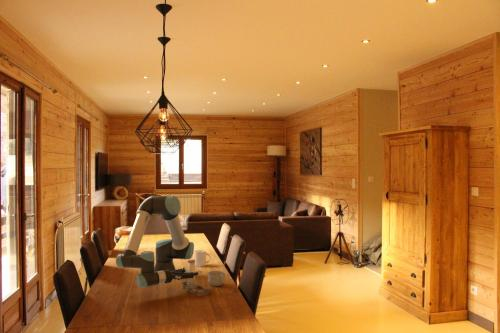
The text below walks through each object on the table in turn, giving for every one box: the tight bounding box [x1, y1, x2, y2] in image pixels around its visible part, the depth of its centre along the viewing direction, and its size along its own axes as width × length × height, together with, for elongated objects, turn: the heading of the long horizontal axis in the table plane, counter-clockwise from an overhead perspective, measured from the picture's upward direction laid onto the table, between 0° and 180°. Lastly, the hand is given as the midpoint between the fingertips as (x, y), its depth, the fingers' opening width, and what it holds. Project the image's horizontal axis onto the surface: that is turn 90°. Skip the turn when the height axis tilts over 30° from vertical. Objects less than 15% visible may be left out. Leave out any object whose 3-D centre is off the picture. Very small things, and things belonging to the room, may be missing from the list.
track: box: [181, 280, 212, 297], centre depth 249 cm, size 20×8×4 cm, turn 36°
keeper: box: [186, 259, 199, 288], centre depth 254 cm, size 6×5×16 cm
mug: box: [193, 249, 212, 268], centre depth 315 cm, size 9×12×11 cm
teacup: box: [207, 270, 226, 287], centre depth 261 cm, size 14×11×8 cm
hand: (198, 271), depth 257 cm, fingers open, 8 cm apart
